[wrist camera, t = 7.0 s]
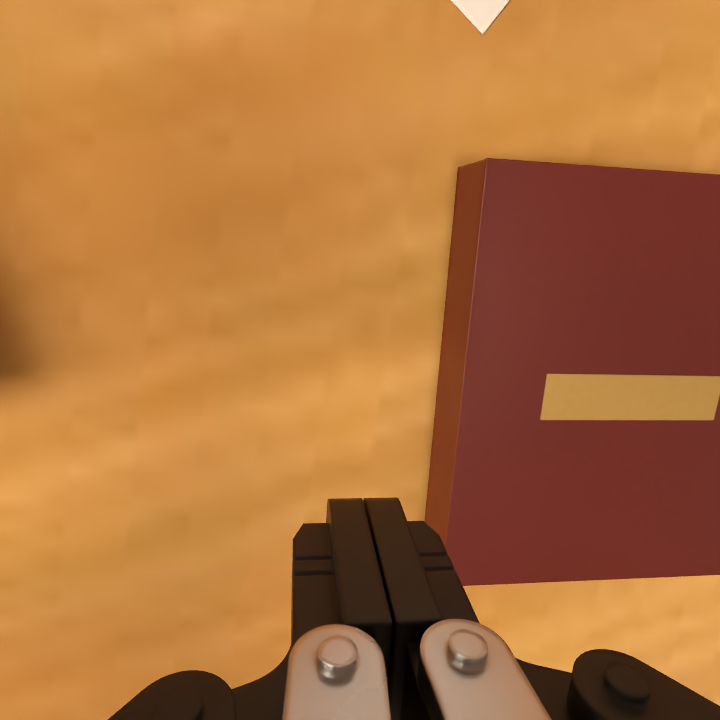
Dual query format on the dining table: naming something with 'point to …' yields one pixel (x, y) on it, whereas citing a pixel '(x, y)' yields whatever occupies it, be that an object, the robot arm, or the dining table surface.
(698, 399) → the hardcover
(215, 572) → the dining table surface
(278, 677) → the robot arm
